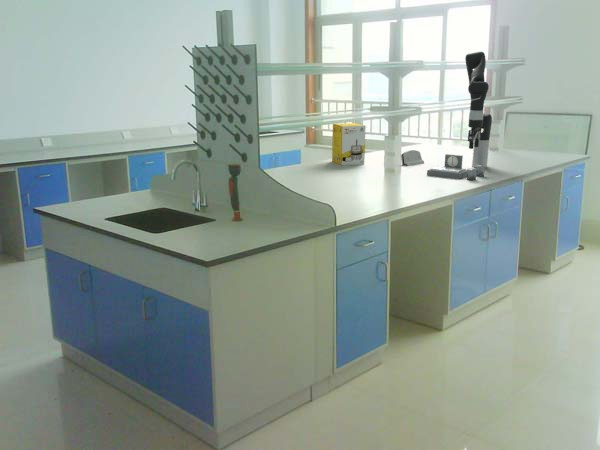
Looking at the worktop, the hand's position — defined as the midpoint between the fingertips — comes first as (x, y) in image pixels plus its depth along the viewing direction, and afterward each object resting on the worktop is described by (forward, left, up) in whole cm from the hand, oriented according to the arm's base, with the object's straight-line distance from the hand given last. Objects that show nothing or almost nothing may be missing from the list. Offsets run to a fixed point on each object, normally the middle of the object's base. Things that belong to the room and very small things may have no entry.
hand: (473, 147), depth 336 cm
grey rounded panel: (-31, -51, -18) cm, 62 cm away
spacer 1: (0, 0, -18) cm, 18 cm away
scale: (-6, -16, -18) cm, 25 cm away
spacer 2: (-14, 0, -18) cm, 23 cm away
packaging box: (-10, -87, -18) cm, 89 cm away
